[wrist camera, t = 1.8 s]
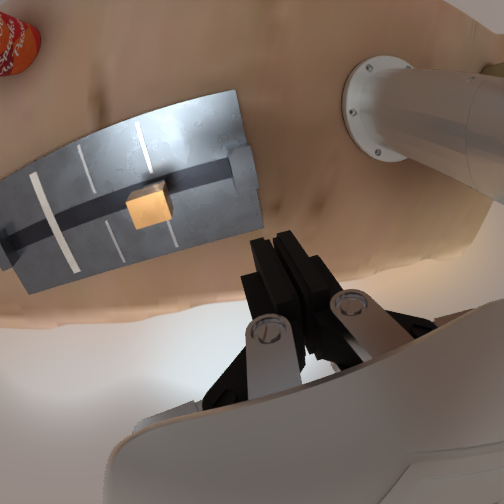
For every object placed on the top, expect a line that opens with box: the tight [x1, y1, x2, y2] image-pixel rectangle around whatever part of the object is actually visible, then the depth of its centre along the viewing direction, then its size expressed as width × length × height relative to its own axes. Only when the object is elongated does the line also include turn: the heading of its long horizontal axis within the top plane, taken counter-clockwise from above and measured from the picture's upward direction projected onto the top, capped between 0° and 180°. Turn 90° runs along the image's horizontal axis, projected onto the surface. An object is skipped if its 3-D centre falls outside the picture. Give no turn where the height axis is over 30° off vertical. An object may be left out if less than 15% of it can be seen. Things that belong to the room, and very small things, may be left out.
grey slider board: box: [0, 90, 264, 295], centre depth 25 cm, size 30×14×4 cm, turn 101°
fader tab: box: [126, 179, 174, 230], centre depth 23 cm, size 3×2×5 cm
